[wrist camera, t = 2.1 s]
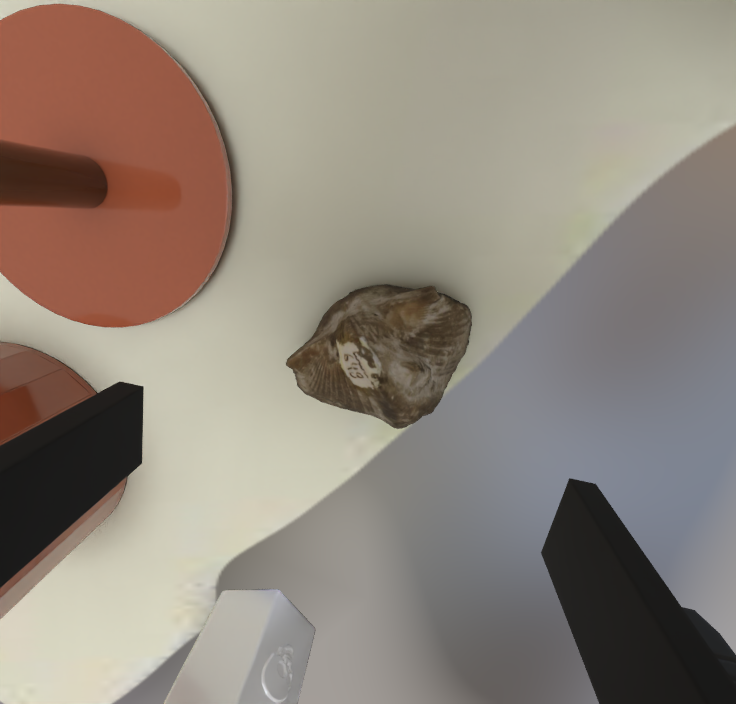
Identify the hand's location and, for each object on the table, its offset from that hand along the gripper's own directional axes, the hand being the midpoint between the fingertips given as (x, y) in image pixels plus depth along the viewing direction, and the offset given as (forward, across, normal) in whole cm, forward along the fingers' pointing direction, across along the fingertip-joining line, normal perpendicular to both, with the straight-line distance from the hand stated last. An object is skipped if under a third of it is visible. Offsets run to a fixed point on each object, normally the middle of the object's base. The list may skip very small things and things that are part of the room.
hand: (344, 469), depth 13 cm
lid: (+13, -18, +6) cm, 23 cm away
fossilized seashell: (+14, 0, 0) cm, 14 cm away
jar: (+14, -5, -25) cm, 29 cm away
